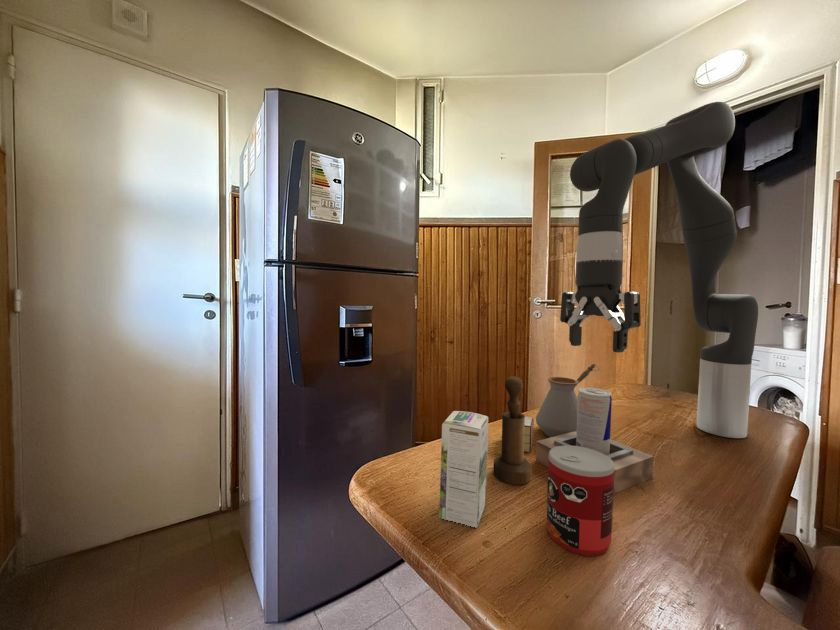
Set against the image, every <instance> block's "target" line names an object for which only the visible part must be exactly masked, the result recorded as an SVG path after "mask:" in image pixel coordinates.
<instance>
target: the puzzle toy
mask: <svg viewBox="0 0 840 630" xmlns="http://www.w3.org/2000/svg"><path fill="white" fill-rule="evenodd" d="M534 421H535V420H534V418H533V417H530V416H525V426H524V453H531V452H532V449H533V443H534V424H535V423H534Z"/></svg>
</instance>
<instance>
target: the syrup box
mask: <svg viewBox="0 0 840 630" xmlns="http://www.w3.org/2000/svg"><path fill="white" fill-rule="evenodd" d="M488 436H489V416H487V415H484V414H480V413H476V412H472V411H465V410H464V411H462V410H453V411H452V412H451V413H450V415H449V416H448V417H447V418H446V419H445V420H444V421H443V423H442V425H441V446H440V447H441V450H440V451H441V452H440V453H441V455H440V478H439V479H440V483H439V485H440V486H439V513H438V518H439V519H440V518H441V519H440V520H442V519H444V520H443V521H446V520H448V521H447V522H450V521H453V522H452V523H454V522H456V523H455V524H458V523H461V524H460V525H462V524H465V525H464V526H466V525H467V526H466V527H470V526H471V527H472V528H474V527H475V529H478V527H479V525H480V522H481V519H482V516H483V513H484V510H485V507H486V498H487V497H486V496H487V495H486V494H487V467H488V465H487V464H488V442H489V441H488Z"/></svg>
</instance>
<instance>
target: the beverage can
mask: <svg viewBox="0 0 840 630" xmlns="http://www.w3.org/2000/svg"><path fill="white" fill-rule="evenodd" d="M577 390H578V394H577V399H578V408H577V436H576V446H580V447H585V448H589V449H592V450H595V451H598V452H600V453H602V454H604V455H609V454H610V439H611V427H612V426H611V425H612V424H611V423H612V404H613V403H612V401H613V400H612V399H613V398H612V396H613V394H612V392H610V391H609V390H606V389H603V388H599V387H598V388H596V387H580V388H578V389H577Z"/></svg>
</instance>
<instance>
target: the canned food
mask: <svg viewBox="0 0 840 630" xmlns="http://www.w3.org/2000/svg"><path fill="white" fill-rule="evenodd" d="M546 488H547V489H546V491H547V492H546V494H547V495H546V520H545V521H546V522H545V523H546V528H547V532H548V534H549V536H550V538H551V539H552V540H553V541H554V542H555V543H556V544H558V545H559V546H560V547H562V548H564V549H565V550H566V551H568V552H571V553H574V554H577V555H583V556H587V557H588V556H590V557H593V556H599V555H602V554H605V553H606V552H607V551H608V550H609V548H610V545H611V542H612V531H613V510H614V507H613V506H614V495H615V494H614V463H613V461H612V460H611V459H610V458H609V457H608V456H606V455H604V454H602V453H600V452H598V451H595V450H592V449H589V448H585V447H580V446H570V445H566V446H557V447H554V448H552V449H551V450H550V451H549V456H548V468H547V487H546Z"/></svg>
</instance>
